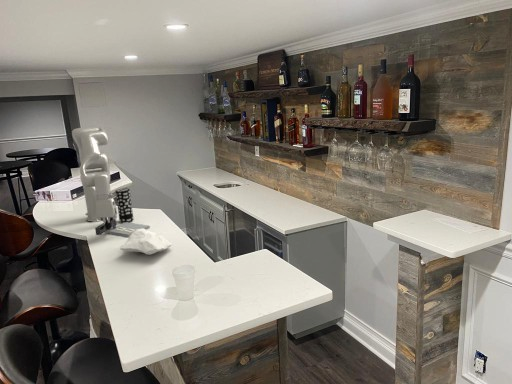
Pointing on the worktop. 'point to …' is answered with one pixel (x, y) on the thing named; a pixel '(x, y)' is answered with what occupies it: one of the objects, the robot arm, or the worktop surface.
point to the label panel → (126, 229)
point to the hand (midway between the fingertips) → (108, 229)
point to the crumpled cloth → (145, 242)
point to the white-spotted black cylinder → (124, 205)
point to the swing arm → (102, 229)
